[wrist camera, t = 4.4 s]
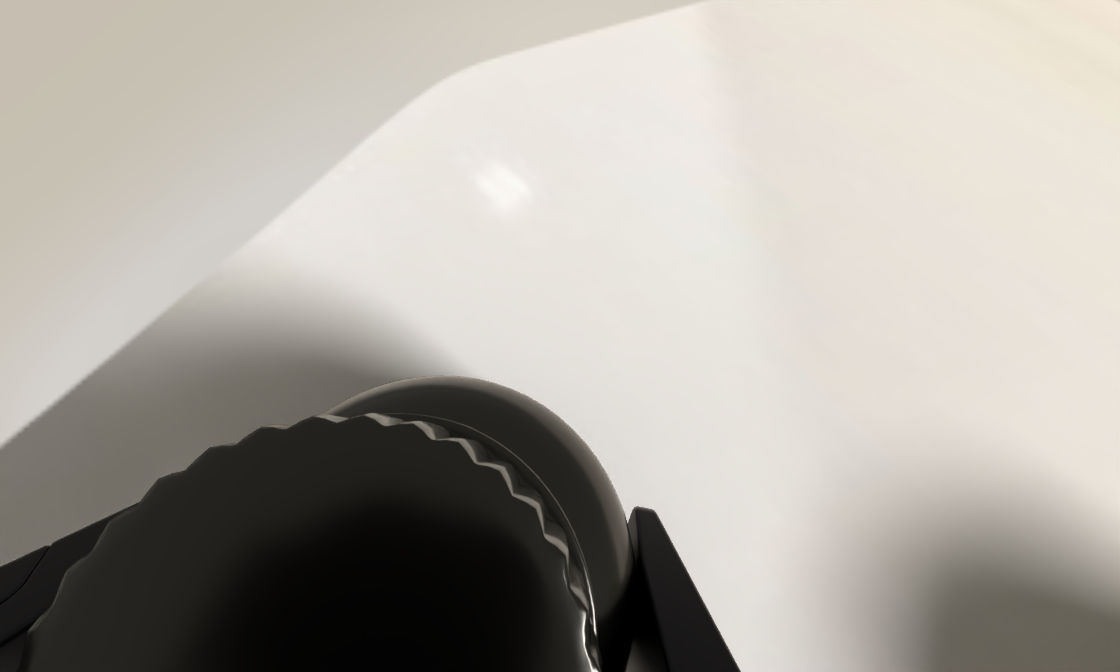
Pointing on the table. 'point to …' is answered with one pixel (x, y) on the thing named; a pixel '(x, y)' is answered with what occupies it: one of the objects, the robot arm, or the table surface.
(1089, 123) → the table surface
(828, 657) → the table surface
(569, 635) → the supplement bottle
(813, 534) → the table surface
